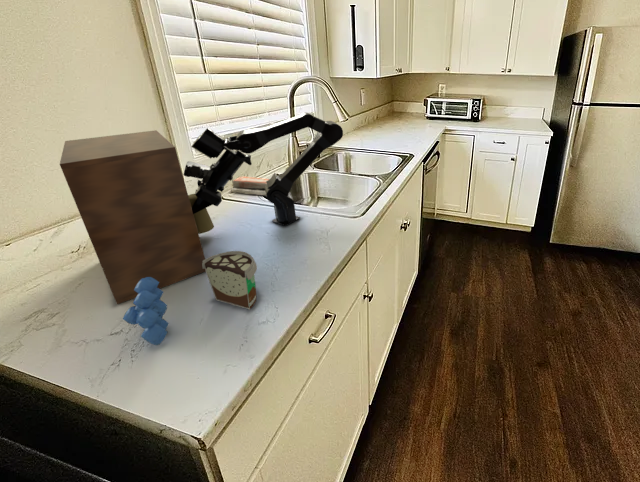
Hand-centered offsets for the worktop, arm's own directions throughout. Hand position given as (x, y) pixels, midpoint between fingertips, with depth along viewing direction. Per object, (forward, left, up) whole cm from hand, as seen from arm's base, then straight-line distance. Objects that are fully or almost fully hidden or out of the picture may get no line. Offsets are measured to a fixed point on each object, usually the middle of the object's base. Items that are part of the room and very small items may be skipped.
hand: (191, 210), depth 94 cm
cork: (-1, -1, -7) cm, 7 cm away
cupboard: (-4, +13, -9) cm, 16 cm away
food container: (-35, +8, -9) cm, 37 cm away
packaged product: (+20, -34, -9) cm, 40 cm away
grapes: (-31, +24, -9) cm, 41 cm away
